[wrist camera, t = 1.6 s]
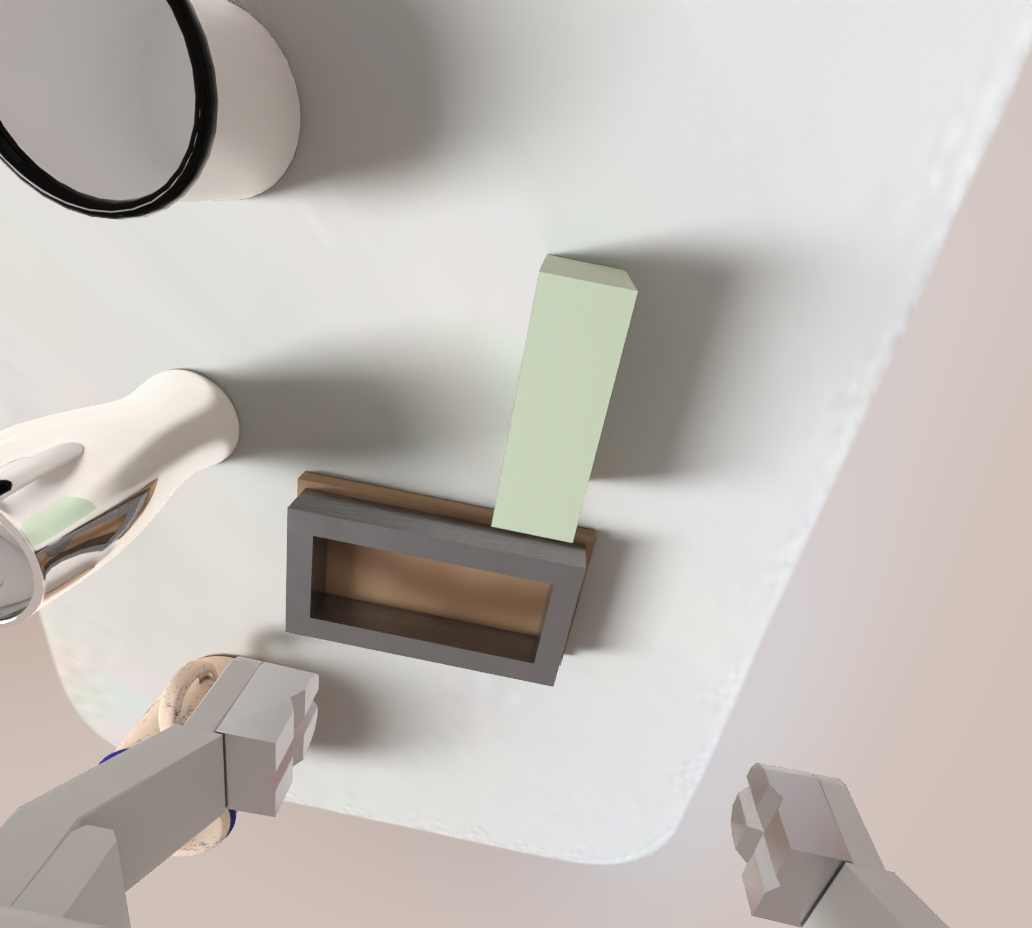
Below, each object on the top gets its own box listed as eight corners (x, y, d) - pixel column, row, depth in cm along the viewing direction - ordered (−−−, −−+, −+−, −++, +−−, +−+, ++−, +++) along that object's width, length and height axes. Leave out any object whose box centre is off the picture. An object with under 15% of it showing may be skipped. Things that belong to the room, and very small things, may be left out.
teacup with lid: (294, 749, 47) (213, 911, 36) (181, 730, 47) (68, 885, 37) (290, 630, 42) (193, 779, 31) (163, 609, 42) (26, 749, 32)
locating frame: (304, 471, 36) (278, 498, 33) (595, 530, 36) (596, 562, 33) (301, 601, 41) (277, 636, 38) (560, 654, 41) (559, 693, 37)
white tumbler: (271, 427, 35) (81, 576, 22) (202, 491, 38) (-9, 661, 24) (178, 336, 34) (-93, 435, 20) (111, 409, 36) (-172, 542, 22)
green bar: (547, 254, 30) (539, 271, 24) (625, 269, 30) (638, 291, 24) (506, 465, 35) (491, 526, 29) (573, 479, 35) (572, 543, 29)
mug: (336, 35, 27) (231, -32, 19) (290, 242, 31) (187, 261, 23) (74, -85, 26) (-157, -211, 18) (61, 144, 30) (-132, 127, 22)
